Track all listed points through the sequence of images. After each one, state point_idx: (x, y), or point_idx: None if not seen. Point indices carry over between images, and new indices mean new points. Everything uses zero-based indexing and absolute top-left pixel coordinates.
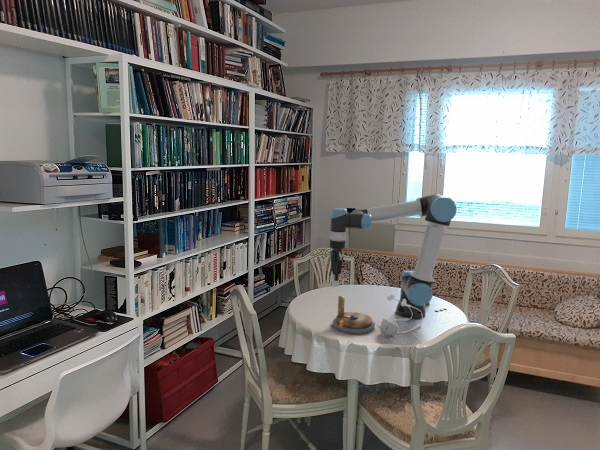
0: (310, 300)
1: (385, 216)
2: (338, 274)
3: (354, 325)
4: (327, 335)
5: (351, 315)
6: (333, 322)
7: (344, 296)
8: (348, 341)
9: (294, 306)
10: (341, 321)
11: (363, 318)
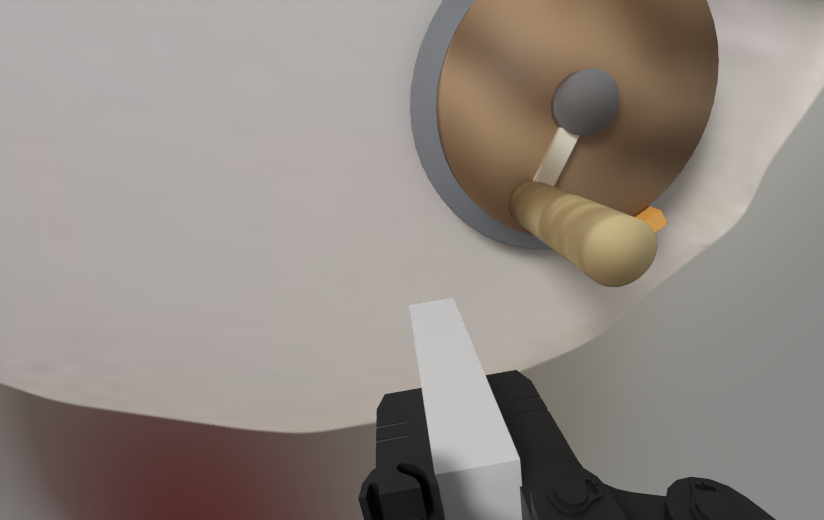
0: (30, 321)
1: None
2: (598, 480)
3: (698, 133)
4: (646, 289)
5: (569, 123)
6: (540, 247)
7: (622, 219)
8: (752, 193)
9: (189, 417)
10: (660, 225)
11: (601, 17)
